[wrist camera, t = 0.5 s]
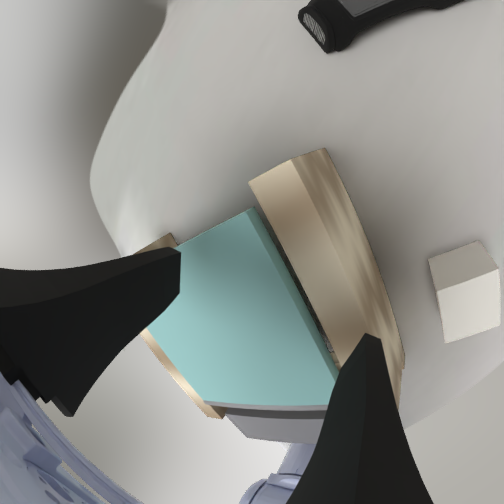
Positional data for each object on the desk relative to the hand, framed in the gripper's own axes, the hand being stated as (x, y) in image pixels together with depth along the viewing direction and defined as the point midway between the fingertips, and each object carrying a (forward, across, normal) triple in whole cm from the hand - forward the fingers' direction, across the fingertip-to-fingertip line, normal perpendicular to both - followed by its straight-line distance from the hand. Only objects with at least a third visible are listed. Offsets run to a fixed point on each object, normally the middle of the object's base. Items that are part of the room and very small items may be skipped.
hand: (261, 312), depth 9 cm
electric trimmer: (+10, -2, -17) cm, 20 cm away
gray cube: (+10, -10, 0) cm, 14 cm away
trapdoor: (+6, 0, +8) cm, 10 cm away
